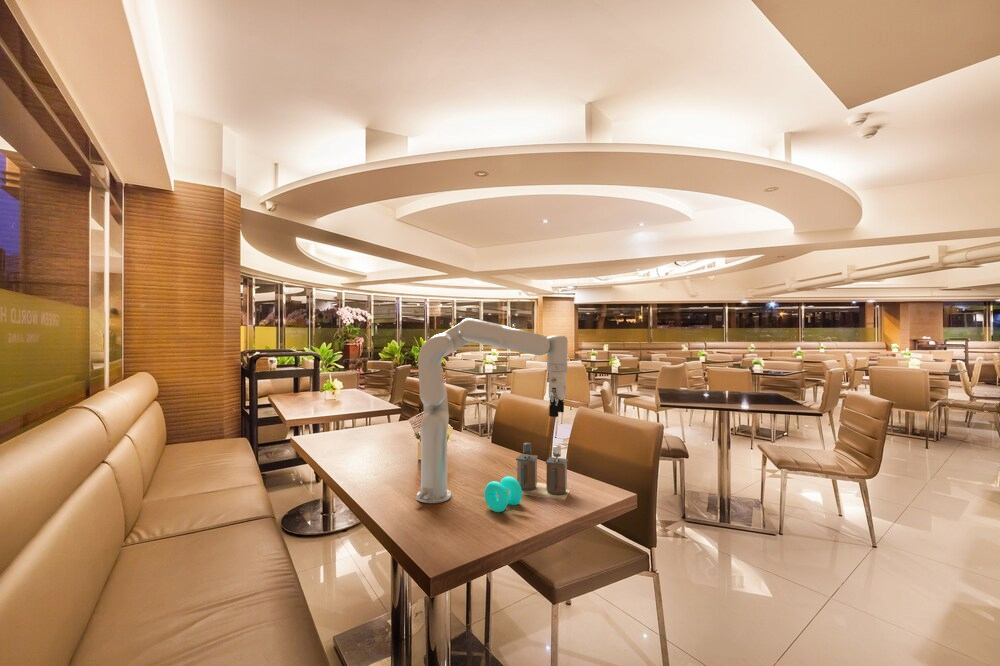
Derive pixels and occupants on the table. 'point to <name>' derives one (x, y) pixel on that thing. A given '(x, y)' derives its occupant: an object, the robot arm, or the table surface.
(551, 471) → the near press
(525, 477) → the far press
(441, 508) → the table surface
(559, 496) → the serving board
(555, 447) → the plunger
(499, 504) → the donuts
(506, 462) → the table surface
